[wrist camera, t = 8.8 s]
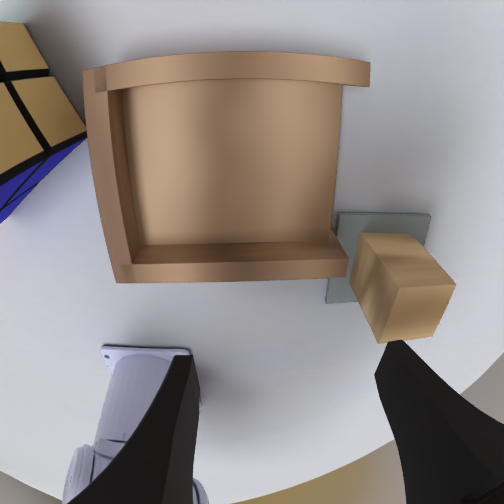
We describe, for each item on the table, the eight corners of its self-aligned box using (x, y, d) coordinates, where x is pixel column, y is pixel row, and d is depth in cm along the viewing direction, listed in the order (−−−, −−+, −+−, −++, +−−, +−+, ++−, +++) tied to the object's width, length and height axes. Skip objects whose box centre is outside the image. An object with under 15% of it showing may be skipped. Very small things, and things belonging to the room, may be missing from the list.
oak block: (396, 281, 22) (432, 336, 17) (348, 282, 22) (378, 343, 16) (410, 233, 20) (456, 284, 15) (360, 232, 20) (399, 288, 14)
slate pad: (405, 293, 23) (407, 296, 23) (325, 300, 23) (326, 303, 22) (428, 214, 20) (430, 216, 19) (338, 212, 19) (340, 215, 19)
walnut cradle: (341, 64, 15) (370, 62, 11) (327, 242, 20) (345, 277, 17) (113, 71, 14) (82, 70, 11) (134, 247, 20) (116, 283, 16)
